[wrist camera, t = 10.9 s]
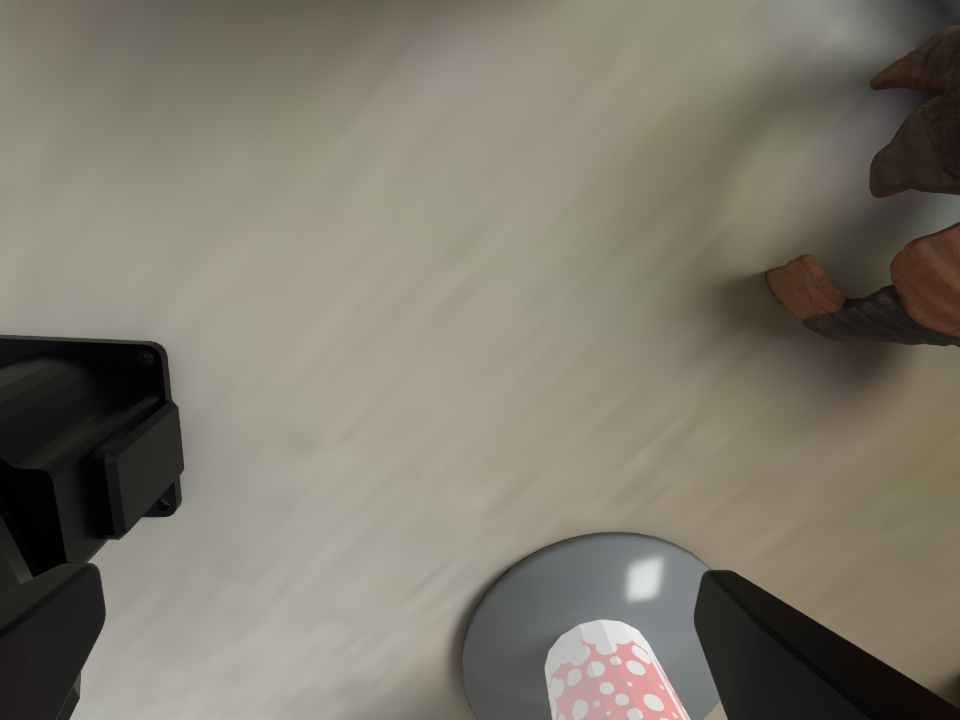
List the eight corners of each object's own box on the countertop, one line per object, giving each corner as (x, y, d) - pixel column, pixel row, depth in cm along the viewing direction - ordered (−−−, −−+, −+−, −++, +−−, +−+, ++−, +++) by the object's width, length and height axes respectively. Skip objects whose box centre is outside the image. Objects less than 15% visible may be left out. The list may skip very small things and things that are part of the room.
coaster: (454, 757, 25) (455, 770, 25) (470, 530, 22) (471, 539, 21) (706, 752, 27) (712, 764, 26) (759, 533, 23) (767, 542, 22)
